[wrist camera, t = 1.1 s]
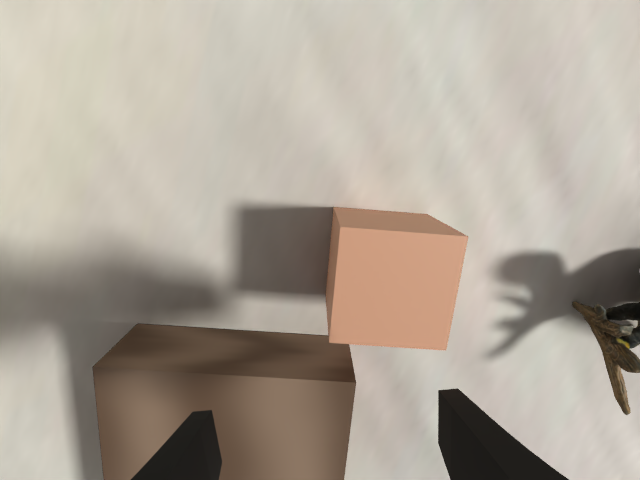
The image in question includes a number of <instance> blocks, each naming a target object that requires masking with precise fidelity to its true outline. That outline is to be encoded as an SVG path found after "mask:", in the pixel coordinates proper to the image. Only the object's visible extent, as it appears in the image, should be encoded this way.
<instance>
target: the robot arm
mask: <svg viewBox="0 0 640 480" xmlns="http://www.w3.org/2000/svg"><path fill="white" fill-rule="evenodd" d="M438 443H439V446H440V449H441V453H442V456H443V459H444V462H445V465H446V467H447V470H448V473H449V476H450V479H451V480H569V479H567V478H566V477H564V476H563V475H562V474H560V473H559V472H557V471H556V470H555V469H553V468H552V467H551V466H549V465H548V464H547V463H545V462H544V461H543V460H541V459H540V458H539V457H538V456H536V455H535V454H534V453H532V452H531V451H530V450H528V449H527V448H526V447H525V446H523V445H522V444H521V443H520V442H519V441H517V440H516V439H515V438H514V437H513V436H511V435H510V434H509V433H508V432H507V431H505V430H504V429H503V428H502V427H501V426H500V425H498V424H497V423H496V422H495V421H494V420H493V419H491V418H490V417H489V416H488V415H487V414H486V413H485V412H484V411H482V410H481V409H480V408H479V407H478V406H477V405H476V404H475V403H473V402H472V401H471V400H470V399H469V398H468V397H467V396H466V395H464V394H463V393H462V392H461V391H460V390H459V389H449V390H439V424H438ZM221 466H222V458H221V453H220V448H219V443H218V438H217V433H216V428H215V423H214V418H213V413H212V410H206V411H194V412H192V413H191V414H190V415H189V416H188V417H187V419H186V420H185V421H184V422H183V423H182V424H181V425H180V426H179V427H178V429H177V430H176V431H175V432H174V433H173V434H172V435H171V436H170V438H169V439H168V440H167V441H166V442H165V443H164V444H163V445H162V446H161V448H160V449H159V450H158V451H157V452H156V453H155V454H154V455H153V456H152V457H151V458H150V460H149V461H148V462H147V463H146V464H145V465H144V466H143V467H142V468H141V469H140V470H139V472H138V473H137V474H136V475H135V476H134V477H133V478H132V479H131V480H219V476H220V471H221Z"/></svg>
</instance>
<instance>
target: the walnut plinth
mask: <svg viewBox="0 0 640 480" xmlns="http://www.w3.org/2000/svg"><path fill="white" fill-rule="evenodd" d="M93 375H94V385H95V395H96V405H97V416H98V426H99V436H100V446H101V456H102V466H103V476H104V480H131V479H132V478H133V477H134V476H135V475H136V474H137V473H138V472H139V470H140V469H141V468H142V467H143V466H144V465H145V464H146V463H147V462H148V461H149V460H150V458H151V457H152V456H153V455H154V454H155V453H156V452H157V451H158V450H159V449H160V448H161V446H162V445H163V444H164V443H165V442H166V441H167V440H168V439H169V438H170V436H171V435H172V434H173V433H174V432H175V431H176V430H177V429H178V427H179V426H180V425H181V424H182V423H183V422H184V421H185V420H186V419H187V417H188V416H189V415H190V414H191V413H192V412H194V411H206V410H212V413H213V418H214V423H215V428H216V433H217V438H218V443H219V448H220V453H221V458H222V466H221V471H220V476H219V480H344V475H345V467H346V459H347V451H348V443H349V435H350V427H351V419H352V411H353V403H354V395H355V386H356V380H355V374H354V369H353V363H352V358H351V352H350V347H349V344H340V343H329V336H321V335H305V334H290V333H274V332H258V331H243V330H227V329H211V328H196V327H180V326H164V325H149V324H137V325H136V326H135V327H134V328H133V329H132V330H131V331H129V332H128V333H127V334H126V335H125V336H124V337H123V338H122V339H121V340H120V341H119V342H118V343H117V344H116V345H115V346H114V347H113V348H112V349H111V350H110V351H109V352H108V353H107V354H106V355H105V356H104V357H103V358H102V359H101V360H99V361H98V362H97V363H96V364H95V365H94V366H93Z"/></svg>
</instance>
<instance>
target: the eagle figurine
mask: <svg viewBox="0 0 640 480" xmlns="http://www.w3.org/2000/svg"><path fill="white" fill-rule="evenodd" d="M639 273H640V269H639ZM572 305H573V307H574V308H575V309H576V310H577V311H579V312H580V313H581V314H582V315H583V316H584V318H585V320H586V321H587V322H588V324H589V325H590V327H591V329H592V331H593V333H594V335H595V337H596V339H597V341H598V343H599V345H600V347H601V350H602V352H603V356H604V360H605V364H606V368H607V371H608V375H609V378H610V382H611V385H612V388H613V392H614V396H615V398H616V400H617V402H618V404H619V405H620V407H621V409H622V411H623V413H624V414H626V415H628V414H630V407H629V404H628V398H627V391H626V387H625V382H624V379H623V376H622V373H621V368H622V369H623V370H625V371H627V372H632V373H640V359H639V358H638V357H637V355H635V354H634V353H633V352H632V351H631V350H629V349H630V348H634V347H636V346H637V345H639V344H640V302H639V303H627V304H623V305H620V306H617V307H612V308H609V309H604V307H603V306H601V305H600V304H597V305H595V307H594V308H592V307H590V306H586V305H583V304H579V303H577V302H573V303H572ZM627 319H629V320H637V321H638V326H637V327H636V328H633V326H632V325H619V324H616V323H613V322H610V321H609V320H627Z"/></svg>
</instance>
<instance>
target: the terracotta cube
mask: <svg viewBox="0 0 640 480" xmlns="http://www.w3.org/2000/svg"><path fill="white" fill-rule="evenodd" d="M467 241H468V236H466V235H464V234H463V233H461V232H459V231H457V230H455V229H453V228H452V227H450V226H448V225H446V224H444V223H443V222H441V221H439V220H437V219H435V218H433V217H432V216H430V215H428V214H417V213H404V212H391V211H378V210H365V209H352V208H340V207H334V209H333V220H332V231H331V241H330V252H329V263H328V274H327V285H326V307H327V321H328V334H329V343H340V344H355V345H371V346H386V347H402V348H418V349H433V350H446V348H447V343H448V338H449V333H450V328H451V323H452V318H453V312H454V307H455V302H456V297H457V292H458V287H459V282H460V277H461V271H462V266H463V261H464V256H465V251H466V246H467Z"/></svg>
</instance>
